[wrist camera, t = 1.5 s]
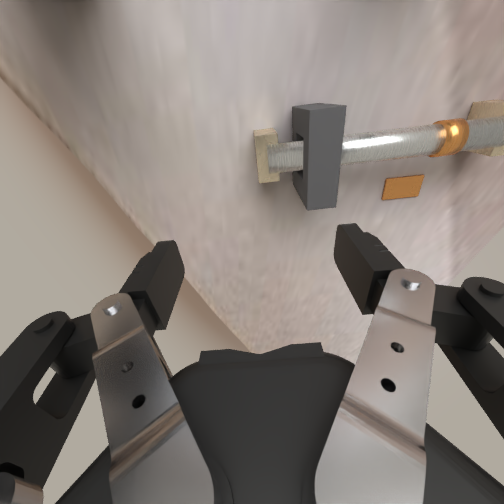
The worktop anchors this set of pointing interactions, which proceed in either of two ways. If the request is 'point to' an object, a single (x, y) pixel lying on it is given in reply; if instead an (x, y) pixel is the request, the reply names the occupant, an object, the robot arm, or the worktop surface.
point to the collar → (319, 152)
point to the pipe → (395, 146)
